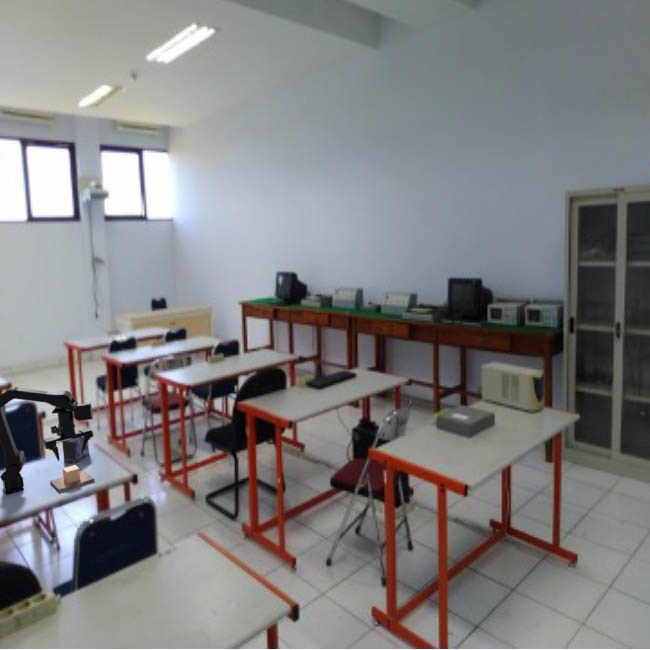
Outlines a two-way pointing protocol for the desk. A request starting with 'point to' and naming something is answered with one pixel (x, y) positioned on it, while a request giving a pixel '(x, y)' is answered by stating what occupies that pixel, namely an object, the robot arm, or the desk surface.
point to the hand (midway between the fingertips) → (70, 457)
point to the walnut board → (63, 485)
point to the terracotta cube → (71, 474)
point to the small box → (74, 450)
